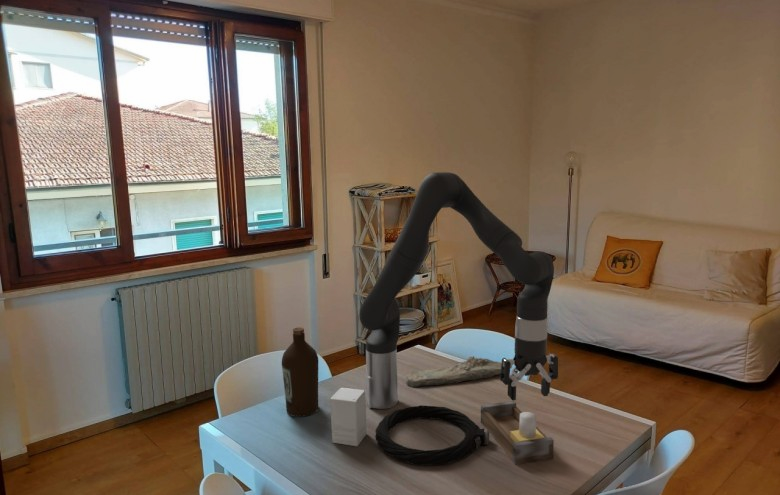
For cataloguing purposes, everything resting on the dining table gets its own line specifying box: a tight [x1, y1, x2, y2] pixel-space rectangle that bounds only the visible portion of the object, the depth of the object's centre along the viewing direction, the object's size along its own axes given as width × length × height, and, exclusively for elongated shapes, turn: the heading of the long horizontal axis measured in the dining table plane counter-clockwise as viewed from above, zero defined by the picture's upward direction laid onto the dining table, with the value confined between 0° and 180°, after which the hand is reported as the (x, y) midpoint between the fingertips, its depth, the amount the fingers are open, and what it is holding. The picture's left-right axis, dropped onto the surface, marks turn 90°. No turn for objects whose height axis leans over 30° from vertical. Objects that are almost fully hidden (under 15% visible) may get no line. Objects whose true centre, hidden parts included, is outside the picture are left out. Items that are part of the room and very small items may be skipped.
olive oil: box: [281, 327, 319, 418], centre depth 164 cm, size 11×11×25 cm
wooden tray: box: [480, 400, 555, 465], centre depth 147 cm, size 10×22×5 cm, turn 13°
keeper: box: [510, 411, 545, 442], centre depth 140 cm, size 7×5×8 cm
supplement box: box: [329, 387, 368, 447], centre depth 149 cm, size 7×7×13 cm
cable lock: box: [374, 405, 490, 466], centre depth 149 cm, size 28×4×30 cm
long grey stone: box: [405, 356, 502, 388], centre depth 187 cm, size 35×5×10 cm
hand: (528, 397), depth 138 cm, fingers open, 8 cm apart
